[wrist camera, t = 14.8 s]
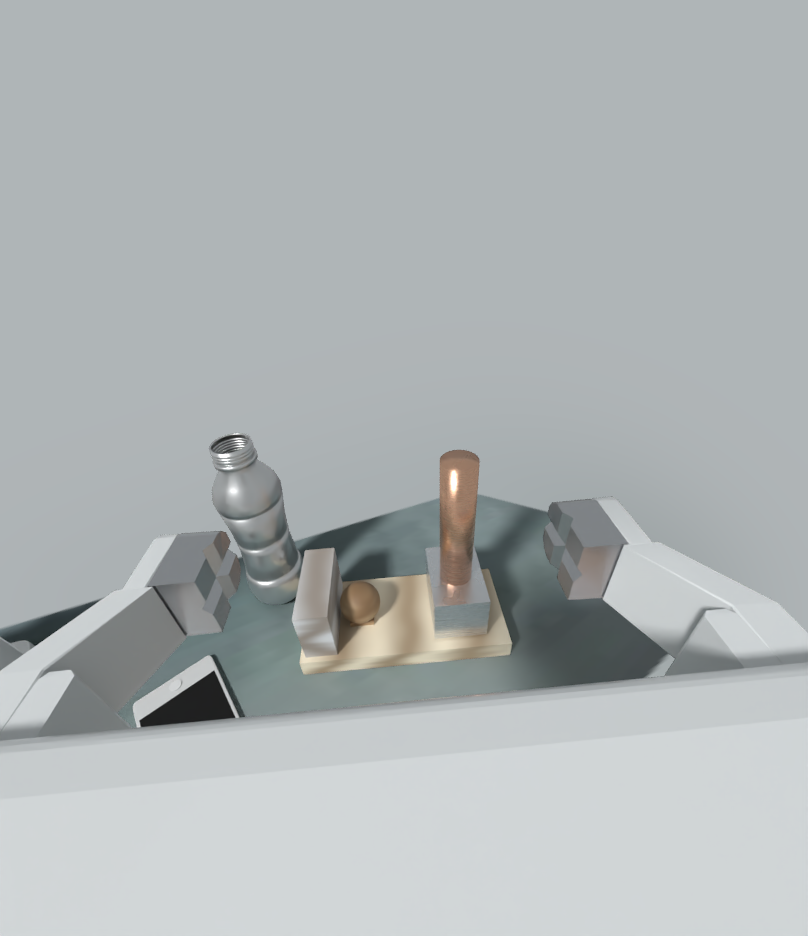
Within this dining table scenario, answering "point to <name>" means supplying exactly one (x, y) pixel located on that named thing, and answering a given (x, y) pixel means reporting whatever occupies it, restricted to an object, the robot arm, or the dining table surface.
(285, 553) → the plastic bottle
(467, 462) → the copper post with base
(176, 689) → the smartphone
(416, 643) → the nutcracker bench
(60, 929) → the robot arm
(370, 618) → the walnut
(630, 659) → the dining table surface
